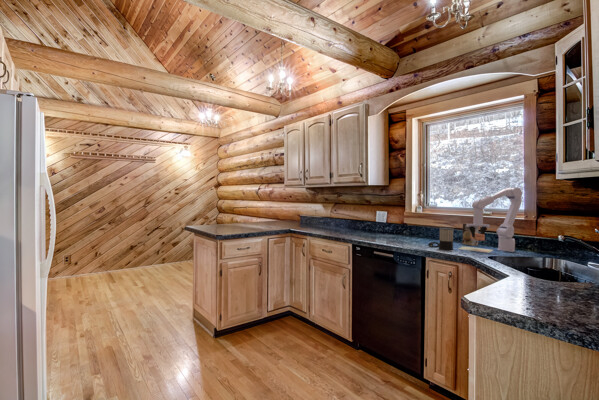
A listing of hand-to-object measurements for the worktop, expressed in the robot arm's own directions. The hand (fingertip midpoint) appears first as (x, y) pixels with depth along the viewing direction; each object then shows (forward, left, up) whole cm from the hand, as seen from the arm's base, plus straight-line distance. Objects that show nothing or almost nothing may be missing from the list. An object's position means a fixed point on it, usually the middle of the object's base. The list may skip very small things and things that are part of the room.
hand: (477, 237), depth 211 cm
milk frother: (+20, +13, -9) cm, 26 cm away
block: (0, 0, -1) cm, 1 cm away
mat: (+1, +1, -9) cm, 9 cm away
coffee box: (+9, -20, -9) cm, 24 cm away
